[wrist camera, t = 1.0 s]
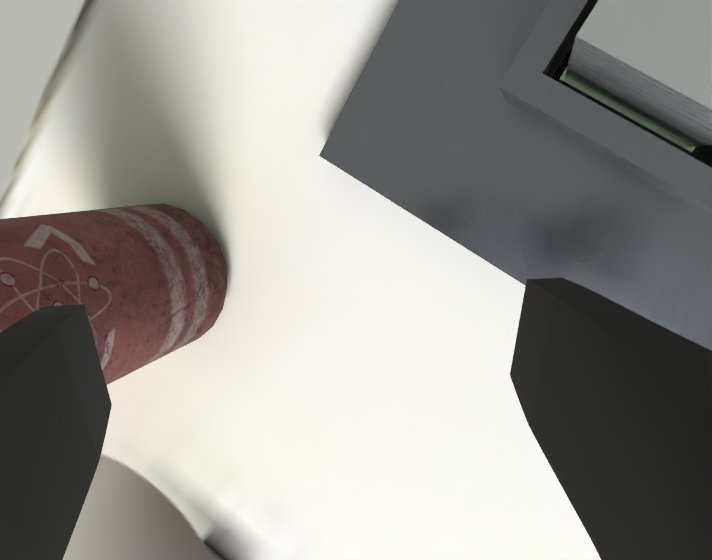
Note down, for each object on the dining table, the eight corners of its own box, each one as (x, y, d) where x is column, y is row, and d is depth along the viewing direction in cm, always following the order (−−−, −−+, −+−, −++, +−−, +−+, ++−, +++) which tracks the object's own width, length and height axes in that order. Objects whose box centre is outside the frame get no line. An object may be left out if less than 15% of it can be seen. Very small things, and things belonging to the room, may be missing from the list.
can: (142, 171, 24) (-324, 178, 11) (257, 258, 23) (-103, 376, 10) (90, 283, 26) (-358, 400, 13) (194, 367, 25) (-175, 581, 12)
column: (770, 25, 16) (949, -84, 9) (674, 153, 18) (765, 146, 11) (640, -41, 17) (711, -190, 10) (557, 88, 18) (567, 38, 11)
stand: (1163, -89, 14) (1431, -198, 10) (717, 399, 19) (766, 466, 15) (585, -334, 16) (600, -505, 12) (328, 155, 22) (277, 153, 17)
